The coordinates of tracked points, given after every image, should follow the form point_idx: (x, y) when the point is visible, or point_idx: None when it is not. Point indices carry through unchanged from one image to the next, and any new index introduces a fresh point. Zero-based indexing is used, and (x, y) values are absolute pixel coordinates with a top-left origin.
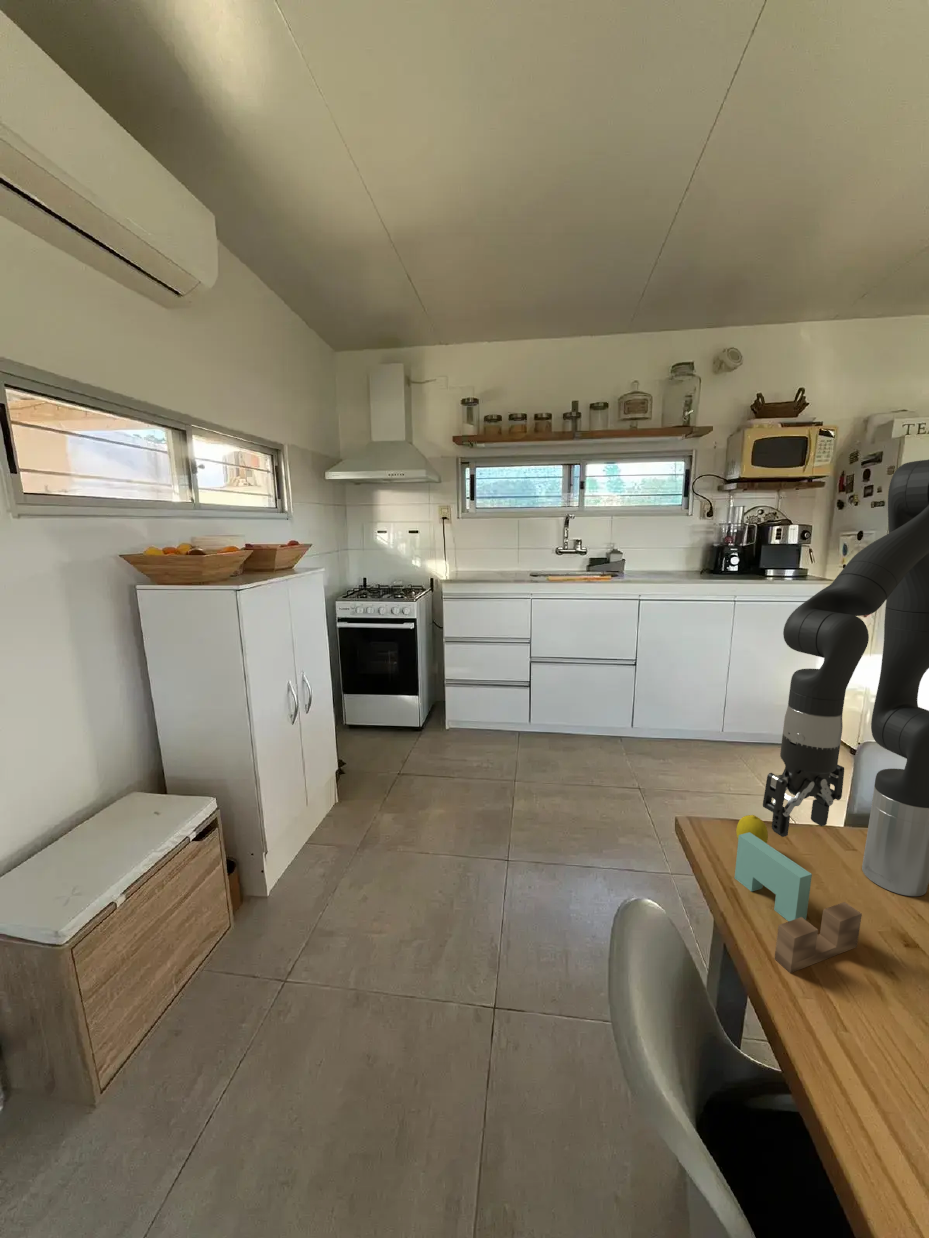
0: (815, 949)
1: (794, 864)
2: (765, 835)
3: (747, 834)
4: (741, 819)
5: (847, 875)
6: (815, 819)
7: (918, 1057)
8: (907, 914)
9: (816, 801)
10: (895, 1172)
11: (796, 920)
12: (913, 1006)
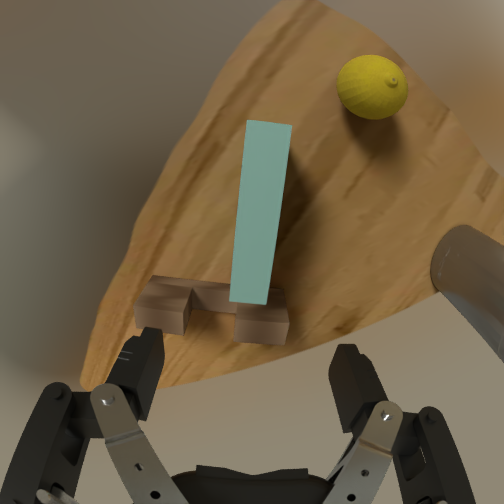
0: (203, 304)
1: (264, 270)
2: (378, 117)
3: (275, 129)
4: (367, 60)
5: (426, 224)
6: (337, 361)
7: (191, 382)
8: (399, 302)
9: (361, 409)
10: None
11: (168, 312)
12: (244, 365)
